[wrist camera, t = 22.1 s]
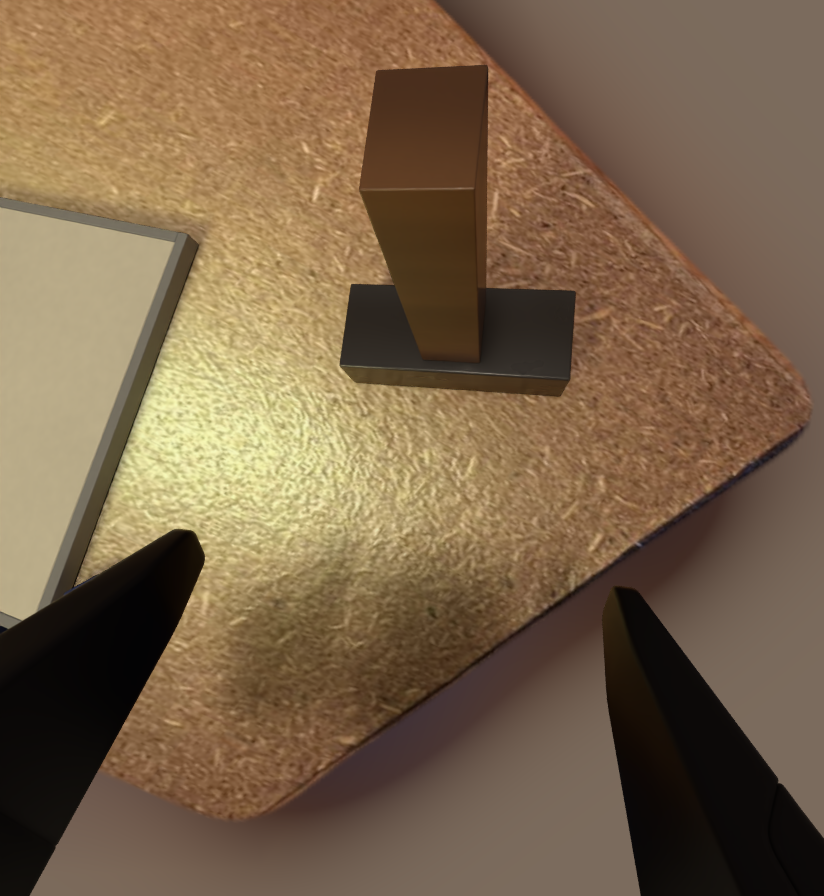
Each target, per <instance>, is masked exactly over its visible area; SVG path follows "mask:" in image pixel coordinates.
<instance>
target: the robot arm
mask: <svg viewBox="0 0 824 896" xmlns="http://www.w3.org/2000/svg"><path fill="white" fill-rule="evenodd" d="M204 561H205V554H204V552H203V549H202V547H201V545H200V542H199V540H198V538H197V536H196V534H195V532H193V531H191V530H185V529H174V530H172V531H170V532H168V533H167V534H165V535H163V536H162V537H160V538H158V539H157V540H155V541H154V542H152V543H150V544H149V545H147V546H145V547H144V548H142V549H140V550H139V551H137V552H135V553H134V554H132V555H130V556H129V557H127V558H125V559H124V560H122V561H120V562H119V563H117V564H115V565H114V566H112V567H110V568H109V569H107V570H105V571H104V572H102V573H100V574H99V575H97V576H96V577H94V578H92V579H91V580H89V581H87V582H86V583H84V584H82V585H81V586H79V587H77V588H76V589H74V590H72V591H71V592H69V593H67V594H66V595H64V596H62V597H61V598H59V599H57V600H56V601H54V602H52V603H51V604H49V605H47V606H46V607H44V608H42V609H41V610H39V611H38V612H36V613H34V614H33V615H31V616H29V617H28V618H26V619H24V620H23V621H21V622H19V623H18V624H16V625H14V626H13V627H11V628H9V629H8V630H6V631H4V632H3V633H1V634H0V896H30V893H31V892H32V890H33V888H34V886H35V885H36V883H37V881H38V879H39V877H40V876H41V874H42V872H43V870H44V868H45V867H46V865H47V863H48V861H49V859H50V857H51V855H52V854H53V852H54V850H55V846H56V845H57V844H58V842H59V840H60V839H61V837H62V835H63V833H64V831H65V830H66V828H67V826H68V824H69V822H70V820H71V819H72V817H73V815H74V813H75V811H76V810H77V808H78V806H79V804H80V802H81V800H82V799H83V797H84V795H85V793H86V791H87V789H88V788H89V786H90V784H91V782H92V780H93V779H94V777H95V775H96V773H97V771H98V770H99V768H100V766H101V764H102V762H103V760H104V759H105V757H106V755H107V753H108V751H109V750H110V748H111V746H112V744H113V742H114V740H115V739H116V737H117V735H118V733H119V731H120V730H121V728H122V726H123V724H124V722H125V720H126V719H127V717H128V715H129V713H130V711H131V710H132V708H133V706H134V704H135V702H136V700H137V699H138V697H139V695H140V693H141V691H142V690H143V688H144V686H145V684H146V682H147V680H148V679H149V677H150V675H151V673H152V671H153V670H154V668H155V666H156V664H157V662H158V660H159V659H160V657H161V655H162V653H163V651H164V650H165V648H166V646H167V644H168V642H169V640H170V639H171V637H172V635H173V633H174V631H175V629H176V627H177V625H178V623H179V621H180V619H181V617H182V614H183V612H184V610H185V607H186V605H187V603H188V600H189V598H190V596H191V593H192V591H193V589H194V586H195V584H196V582H197V579H198V577H199V575H200V572H201V570H202V568H203V565H204ZM602 626H603V642H604V658H605V677H606V692H607V702H608V709H609V716H610V721H611V727H612V732H613V739H614V744H615V750H616V756H617V761H618V767H619V773H620V779H621V785H622V790H623V796H624V802H625V808H626V813H627V819H628V824H629V831H630V836H631V842H632V848H633V854H634V859H635V865H636V870H637V877H638V882H639V888H640V894H641V896H824V838H823V837H822V835H821V834H820V833H819V832H818V830H817V829H816V828H815V826H814V825H813V824H812V823H811V821H810V820H809V819H808V817H807V816H806V815H805V813H804V812H803V811H802V810H801V808H800V807H799V806H798V804H797V803H796V802H795V800H794V799H793V798H792V796H791V795H790V794H789V792H788V791H787V790H786V788H785V787H784V786H783V785H782V784H780V783H778V778H777V776H776V775H775V774H774V772H773V771H772V770H771V768H770V767H769V766H768V764H767V763H766V762H765V761H764V759H763V758H762V756H761V755H760V754H759V752H758V751H757V750H756V748H755V747H754V746H753V744H752V743H751V742H750V740H749V739H748V738H747V736H746V735H745V734H744V732H743V731H742V730H741V728H740V727H739V726H738V724H737V723H736V722H735V720H734V719H733V718H732V716H731V715H730V714H729V712H728V711H727V710H726V708H725V707H724V706H723V704H722V703H721V702H720V700H719V699H718V698H717V696H716V695H715V694H714V692H713V691H712V689H711V688H710V687H709V685H708V684H707V683H706V682H705V680H704V679H703V677H702V676H701V675H700V673H699V672H698V671H697V670H696V668H695V667H694V666H693V664H692V663H691V661H690V660H689V659H688V657H687V656H686V655H685V653H684V652H683V651H682V650H681V648H680V647H679V645H678V644H677V643H676V641H675V640H674V639H673V638H672V636H671V635H670V633H669V632H668V631H667V629H666V628H665V627H664V626H663V624H662V623H661V621H660V620H659V619H658V617H657V616H656V615H655V613H654V612H653V611H652V610H651V608H650V607H649V605H648V604H647V603H646V601H645V600H644V599H643V597H642V596H641V595H640V593H639V592H638V591H637V590H636V589H634V588H631V587H624V586H613V587H612V588H611V590H610V593H609V596H608V598H607V601H606V604H605V607H604V610H603V616H602Z"/></svg>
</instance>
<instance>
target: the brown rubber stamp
mask: <svg viewBox="0 0 824 896" xmlns="http://www.w3.org/2000/svg"><path fill="white" fill-rule="evenodd" d="M487 148H488V66H487V65H474V66H454V67H434V68H414V69H394V70H378V71H376V76H375V83H374V90H373V96H372V103H371V110H370V117H369V124H368V131H367V138H366V145H365V152H364V159H363V166H362V172H361V179H360V186H359V191H360V194H361V197H362V199H363V202H364V205H365V207H366V210H367V213H368V215H369V218H370V221H371V223H372V226H373V229H374V231H375V234H376V237H377V239H378V242H379V245H380V247H381V250H382V253H383V255H384V258H385V261H386V263H387V266H388V269H389V271H390V274H391V277H392V279H393V282H394V285H370V284H351V288H350V295H349V302H348V309H347V316H346V323H345V330H344V337H343V344H342V351H341V358H340V367H341V368H342V369H343V370H344V371H345V372H346V373H347V375H348V376H349V377H350V378H351V379H352V380H353V381H354V382H358V383H373V384H388V385H402V386H417V387H432V388H447V389H462V390H476V391H491V392H506V393H521V394H535V395H550V396H560V395H561V394H562V392H563V390H564V389H565V387H566V385H567V383H568V382H569V380H570V373H571V358H572V343H573V328H574V314H575V299H576V292H575V291H567V290H534V289H501V288H486V259H487Z"/></svg>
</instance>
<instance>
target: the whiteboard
mask: <svg viewBox="0 0 824 896" xmlns="http://www.w3.org/2000/svg"><path fill="white" fill-rule="evenodd" d="M197 247H198V243H197V242H196V241H194V240H193V239H192V238H191V237H190V236H189V235H188V234H186V233H181V232H175V231H170V230H165V229H160V228H155V227H150V226H145V225H139V224H134V223H129V222H124V221H119V220H114V219H109V218H104V217H99V216H93V215H88V214H83V213H78V212H73V211H68V210H63V209H58V208H53V207H48V206H42V205H37V204H32V203H27V202H22V201H17V200H12V199H7V198H2V197H0V626H3V627H5V628H8V629H9V628H11V627H13V626H14V625H16V624H18V623H19V622H21V621H23V620H24V619H26V618H28V617H29V616H31V615H33V614H34V613H36V612H38V611H39V610H41V609H42V608H44V607H46V606H47V605H49V604H51V603H52V602H54V601H56V600H57V599H59V598H61V597H62V596H64V593H65V592H67V591H68V590H70V589H72V587H73V584H74V581H75V579H76V576H77V573H78V571H79V568H80V565H81V562H82V560H83V557H84V554H85V552H86V549H87V546H88V543H89V541H90V538H91V535H92V533H93V530H94V527H95V524H96V522H97V519H98V516H99V513H100V511H101V508H102V505H103V503H104V500H105V497H106V494H107V492H108V489H109V486H110V484H111V481H112V478H113V475H114V473H115V470H116V467H117V465H118V462H119V459H120V456H121V454H122V451H123V448H124V446H125V443H126V440H127V437H128V435H129V432H130V429H131V427H132V424H133V421H134V418H135V416H136V413H137V410H138V408H139V405H140V402H141V399H142V397H143V394H144V391H145V388H146V386H147V383H148V380H149V378H150V375H151V372H152V369H153V367H154V364H155V361H156V359H157V356H158V353H159V350H160V348H161V345H162V342H163V340H164V337H165V334H166V331H167V329H168V326H169V323H170V321H171V318H172V315H173V312H174V310H175V307H176V304H177V302H178V299H179V296H180V293H181V291H182V288H183V285H184V283H185V280H186V277H187V274H188V272H189V269H190V266H191V263H192V261H193V258H194V255H195V253H196V250H197Z"/></svg>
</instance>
